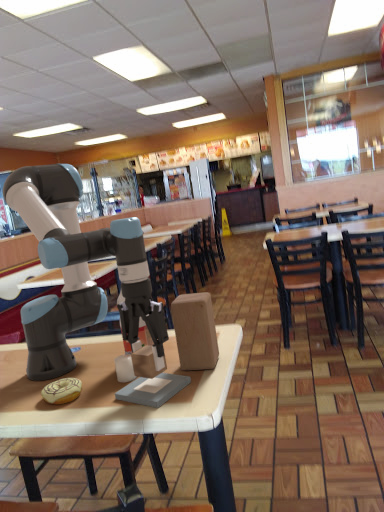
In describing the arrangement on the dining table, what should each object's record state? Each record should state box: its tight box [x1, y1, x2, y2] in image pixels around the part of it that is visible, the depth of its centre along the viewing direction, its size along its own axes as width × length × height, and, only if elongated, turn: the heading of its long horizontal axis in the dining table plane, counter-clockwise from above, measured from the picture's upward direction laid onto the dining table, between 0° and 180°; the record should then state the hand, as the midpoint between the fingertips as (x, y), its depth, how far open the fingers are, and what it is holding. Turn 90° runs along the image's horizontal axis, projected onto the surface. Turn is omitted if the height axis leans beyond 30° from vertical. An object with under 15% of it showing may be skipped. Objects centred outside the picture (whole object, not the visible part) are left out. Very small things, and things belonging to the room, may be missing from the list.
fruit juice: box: [116, 281, 154, 355], centre depth 129 cm, size 9×9×28 cm
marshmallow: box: [113, 353, 138, 383], centre depth 119 cm, size 6×6×6 cm
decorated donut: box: [40, 377, 83, 406], centre depth 113 cm, size 10×11×4 cm
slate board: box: [114, 372, 192, 409], centre depth 109 cm, size 14×14×2 cm
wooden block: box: [170, 291, 220, 371], centre depth 120 cm, size 10×10×20 cm
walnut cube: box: [131, 345, 168, 379], centre depth 107 cm, size 6×6×6 cm
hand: (150, 367), depth 108 cm, fingers closed on walnut cube, 6 cm apart
